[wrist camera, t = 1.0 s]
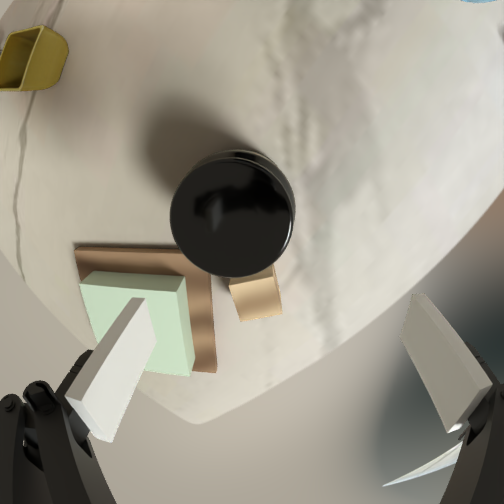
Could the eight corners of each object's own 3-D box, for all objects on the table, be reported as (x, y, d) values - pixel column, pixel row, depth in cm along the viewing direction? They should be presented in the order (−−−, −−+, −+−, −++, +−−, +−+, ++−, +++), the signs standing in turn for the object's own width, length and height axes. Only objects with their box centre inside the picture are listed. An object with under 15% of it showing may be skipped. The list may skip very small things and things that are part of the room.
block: (233, 266, 35) (228, 285, 31) (271, 258, 35) (273, 276, 30) (243, 299, 37) (240, 321, 32) (280, 292, 36) (282, 313, 32)
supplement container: (216, 135, 29) (189, 130, 18) (302, 171, 30) (324, 187, 19) (184, 217, 33) (148, 255, 22) (265, 250, 34) (265, 303, 23)
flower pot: (28, 93, 26) (-12, 92, 18) (45, 42, 23) (8, 32, 15) (63, 95, 27) (20, 91, 18) (83, 39, 24) (44, 24, 15)
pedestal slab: (93, 270, 35) (79, 283, 31) (184, 276, 34) (176, 291, 31) (114, 347, 40) (105, 362, 36) (195, 358, 39) (189, 376, 36)
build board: (79, 246, 35) (73, 250, 34) (209, 250, 34) (207, 254, 33) (108, 351, 42) (105, 357, 41) (217, 366, 42) (216, 373, 40)
